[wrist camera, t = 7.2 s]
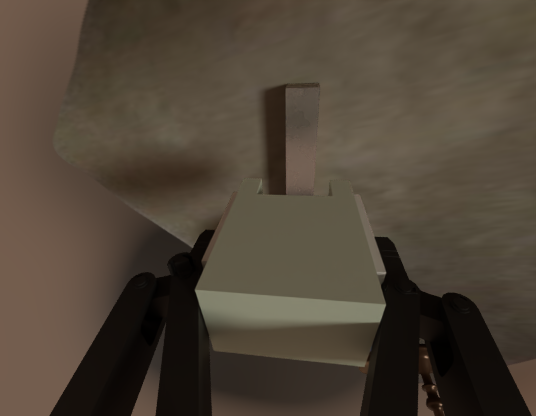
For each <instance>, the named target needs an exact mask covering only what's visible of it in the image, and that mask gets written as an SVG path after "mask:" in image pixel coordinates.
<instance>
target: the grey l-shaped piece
mask: <svg viewBox="0 0 536 416" xmlns="http://www.w3.org/2000/svg"><path fill="white" fill-rule="evenodd" d="M319 97H320V85H319V83H296V84H287V86H286V195H301V196H313V192H314V176H315V160H316V144H317V129H318V113H319Z"/></svg>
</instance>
